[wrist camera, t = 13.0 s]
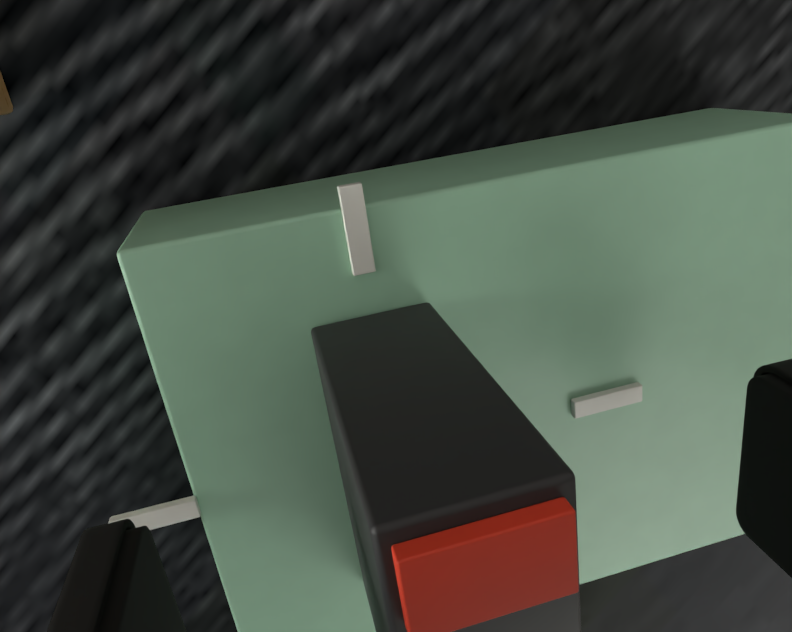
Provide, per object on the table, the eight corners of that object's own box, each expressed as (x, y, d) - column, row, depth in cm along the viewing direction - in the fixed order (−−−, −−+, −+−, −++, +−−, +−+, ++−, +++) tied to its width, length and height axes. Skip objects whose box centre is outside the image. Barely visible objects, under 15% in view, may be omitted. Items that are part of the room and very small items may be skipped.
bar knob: (462, 557, 13) (601, 852, 8) (364, 585, 12) (446, 910, 8) (428, 299, 10) (592, 488, 6) (309, 326, 10) (375, 550, 5)
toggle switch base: (712, 90, 14) (839, 94, 11) (694, 463, 17) (785, 540, 15) (59, 205, 12) (0, 249, 9) (197, 604, 15) (188, 727, 12)
